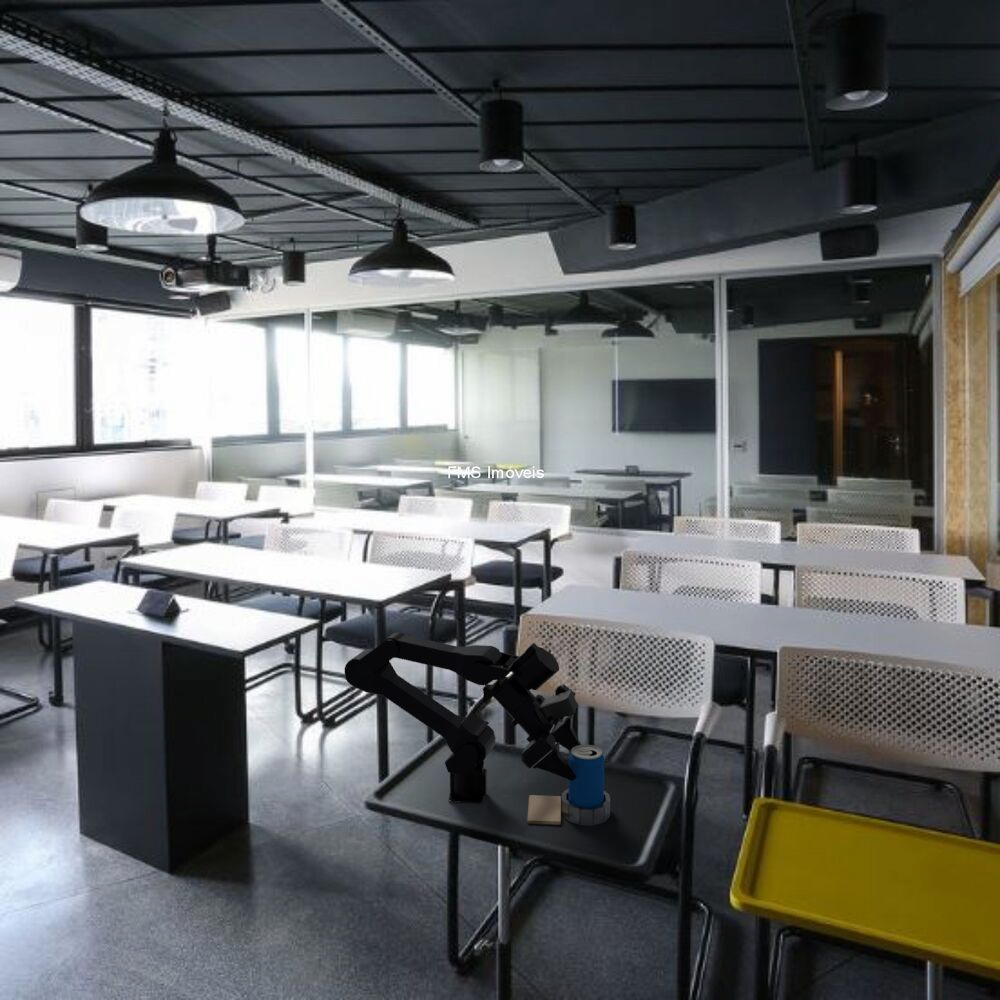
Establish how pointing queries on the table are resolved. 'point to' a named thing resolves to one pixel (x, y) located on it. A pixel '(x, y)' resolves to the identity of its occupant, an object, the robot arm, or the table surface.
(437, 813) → the table surface
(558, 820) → the cork pad
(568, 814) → the ring
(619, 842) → the table surface
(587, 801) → the beverage can
